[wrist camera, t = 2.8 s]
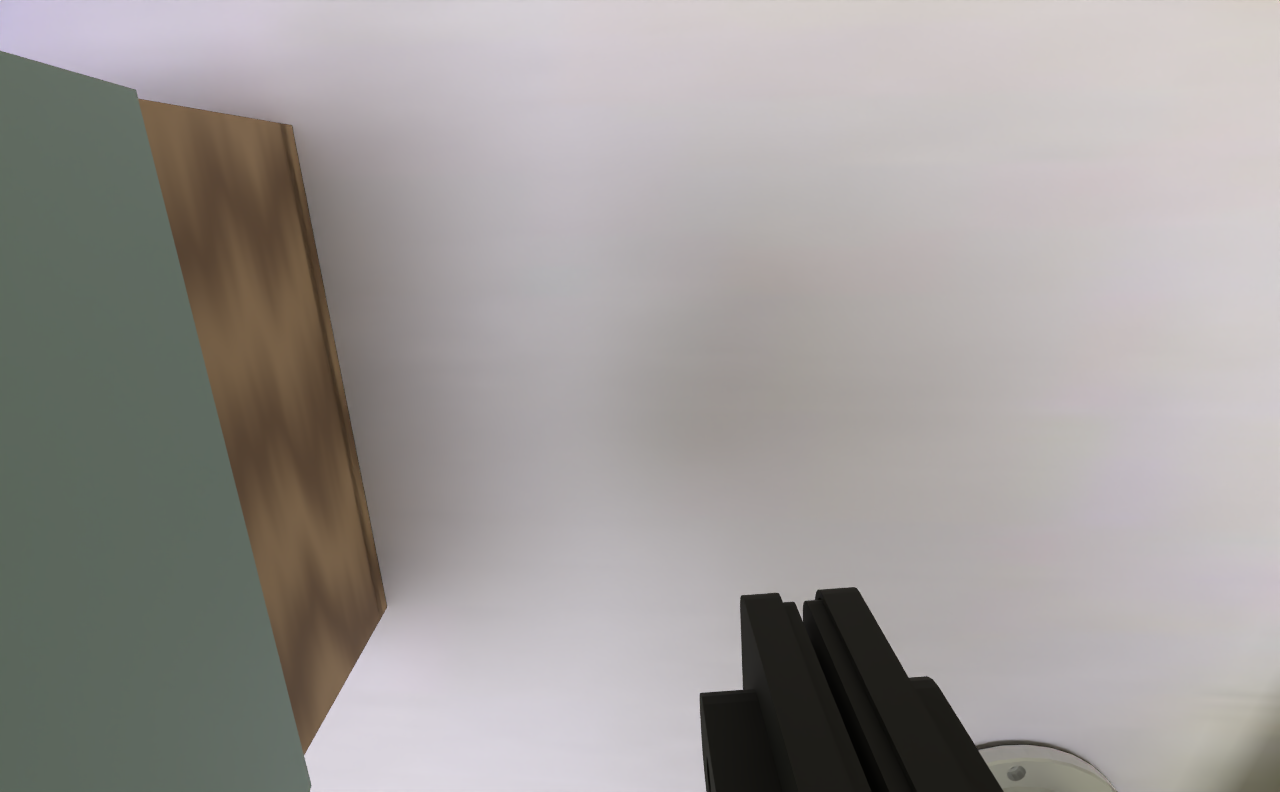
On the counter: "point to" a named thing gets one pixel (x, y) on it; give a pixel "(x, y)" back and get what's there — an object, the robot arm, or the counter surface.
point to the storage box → (274, 387)
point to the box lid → (116, 480)
